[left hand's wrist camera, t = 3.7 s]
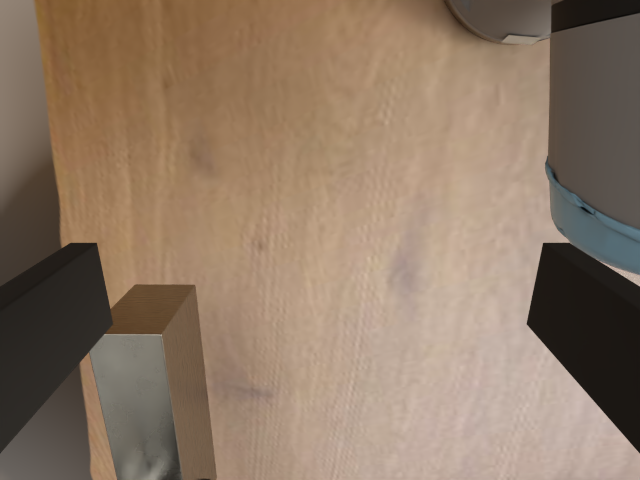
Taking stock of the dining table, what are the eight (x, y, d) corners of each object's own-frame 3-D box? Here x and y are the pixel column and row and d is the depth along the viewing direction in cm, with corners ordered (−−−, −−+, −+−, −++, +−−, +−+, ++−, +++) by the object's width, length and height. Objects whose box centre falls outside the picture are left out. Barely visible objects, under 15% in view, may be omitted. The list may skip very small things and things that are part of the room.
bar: (134, 284, 36) (84, 334, 29) (195, 284, 36) (161, 334, 29) (166, 477, 44) (133, 557, 36) (217, 477, 44) (194, 557, 36)
